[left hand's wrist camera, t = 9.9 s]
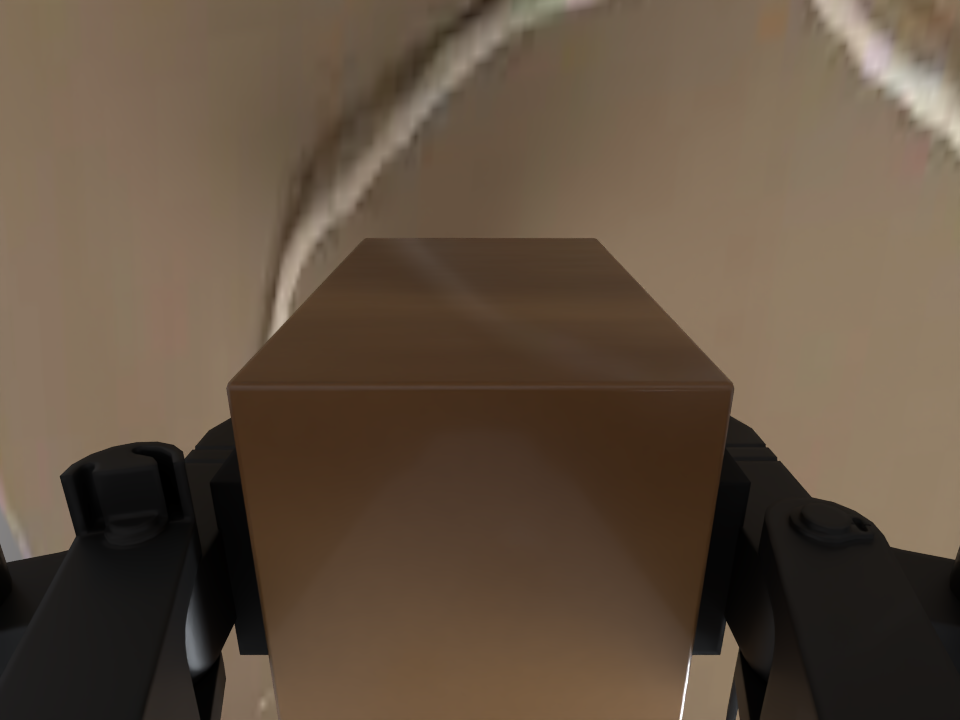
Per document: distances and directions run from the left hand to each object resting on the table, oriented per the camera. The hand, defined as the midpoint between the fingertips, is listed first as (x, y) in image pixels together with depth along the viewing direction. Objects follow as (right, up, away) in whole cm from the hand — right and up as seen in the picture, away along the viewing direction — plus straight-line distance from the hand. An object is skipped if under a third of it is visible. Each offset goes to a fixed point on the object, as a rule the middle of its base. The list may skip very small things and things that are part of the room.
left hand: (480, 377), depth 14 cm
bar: (0, -9, +4) cm, 10 cm away
